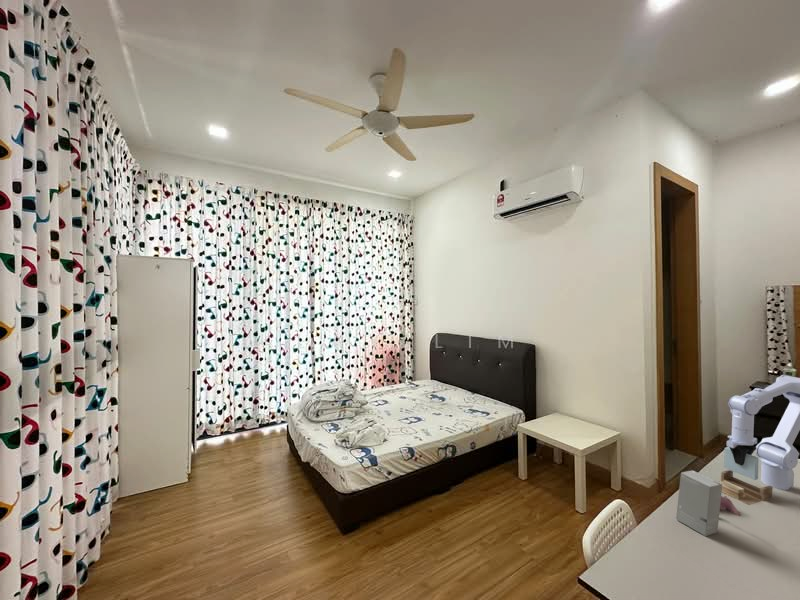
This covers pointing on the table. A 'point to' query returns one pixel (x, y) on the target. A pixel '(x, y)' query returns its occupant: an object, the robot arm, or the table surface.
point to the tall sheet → (746, 469)
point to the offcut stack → (732, 490)
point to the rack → (748, 489)
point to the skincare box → (699, 502)
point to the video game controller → (728, 505)
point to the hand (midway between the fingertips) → (741, 463)
